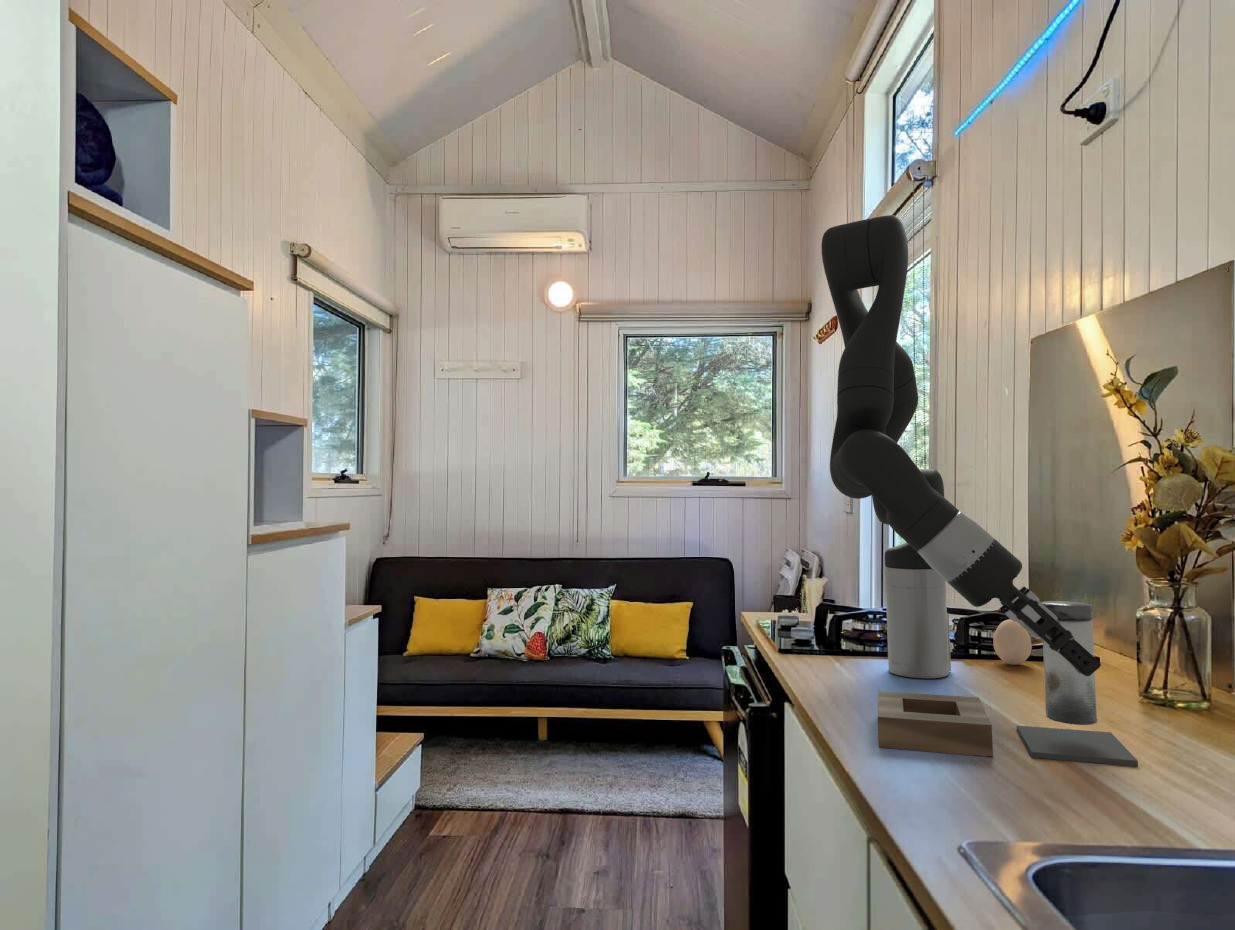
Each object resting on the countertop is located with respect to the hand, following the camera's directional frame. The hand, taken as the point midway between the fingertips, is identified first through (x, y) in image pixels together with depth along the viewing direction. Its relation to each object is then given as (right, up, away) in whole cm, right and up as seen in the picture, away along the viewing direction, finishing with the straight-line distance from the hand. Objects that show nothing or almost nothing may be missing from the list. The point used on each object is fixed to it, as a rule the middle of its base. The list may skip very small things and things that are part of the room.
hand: (1087, 664), depth 86 cm
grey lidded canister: (-2, -6, 0) cm, 6 cm away
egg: (+14, -11, +42) cm, 45 cm away
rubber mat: (-1, -10, 0) cm, 10 cm away
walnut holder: (-16, -10, +5) cm, 19 cm away
